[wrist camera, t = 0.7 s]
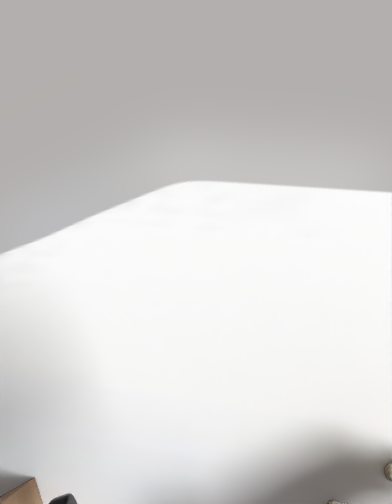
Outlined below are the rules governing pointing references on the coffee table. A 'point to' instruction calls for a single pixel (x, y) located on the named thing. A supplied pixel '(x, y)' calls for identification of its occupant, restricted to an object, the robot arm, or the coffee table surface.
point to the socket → (23, 494)
